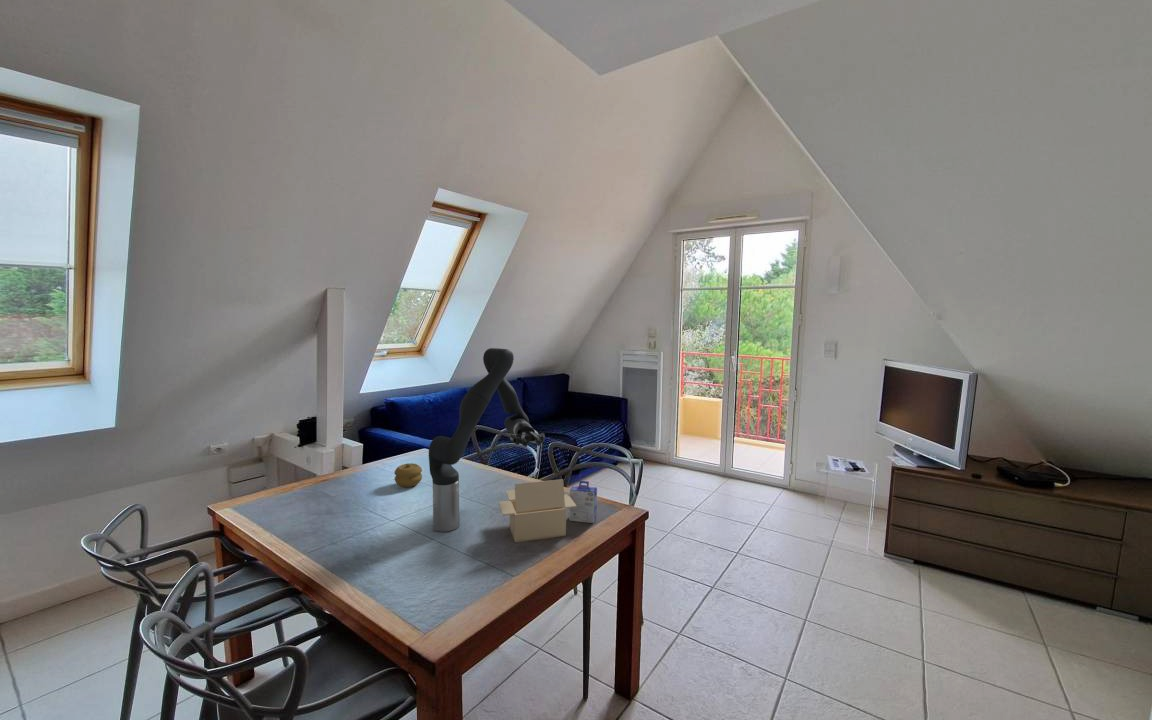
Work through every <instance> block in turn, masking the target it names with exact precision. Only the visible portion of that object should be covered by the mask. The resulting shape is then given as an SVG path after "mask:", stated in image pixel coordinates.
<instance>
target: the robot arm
mask: <svg viewBox="0 0 1152 720" xmlns="http://www.w3.org/2000/svg"><path fill="white" fill-rule="evenodd" d="M514 357H515V356H514V353H513V352H512V350H510V349H507V348H497V347H489V348H487V349H486V350H485V352H483V357H482V360H483V365H484V368H485V370H486V371H487V374H486V375H485V376H484V377H483V378H482V379H480V380H479V381H478V382H476V383H475V384H473V386H471V387H470V388H469V389H468V390H467V391H466V393H465V396H464V397H463V398H462V400H461V402H460V405H459V422H458V423H459V424H458V426H457V428H456V430H455V432H454V434H453V435H452V437H448V436H442V435H437V436H436V437H434V438H433V439H432V440H431V442H430V443H429V448H428V464H429V465H428V466H429V474H430V476H431V480H432V481H431V482H432V519H433V521H432V523H433V524H432V525H433V532H444V533H445V532H452V531H455V530H456V529H458V528H459V527H460V476H459V475H460V474H459V472H458V471H457V470H456V468H454V467H453V465H456V464H457V463H458V462H459V461H460V460H461V459H462V457H463V455H464V453H465V450H466V449H467V446H468V444H469V441H470V439H471V437H472V434H473V433H474V430H475V428H476V427H477V424H478V423H479V422H480V419H481V417H482V415H484V413H485V410H486V409H487V407H488V405H489V403H490V402H491V399H492V398H493V396H494V394H495V392H496V391H497V393H498V395H499V398H500V400H501V403H502V407H503V410H504V412H505V413H506V414H507V415H510V416H508V417H506V418H505V420H504V427H505V428H504V429H506V431H507V432H508V433H510V437H509V438H510V442H511V443H513V444H515V445H521V446H523V447H524V448H527V447H528V444H531V443H532V444H536V446H537V447H539V446H541V445H542V444H543V443H544V441H545V432H541V433H539V434H538V433H537V432H536V431H535V428H533V426H532V425H531V424H530V420H529V417H528V415H527V414H526V413H525V411H524V410H523V408H522V406H521V403H520V400H519V397H518V394H517V392H516V390H515V388H514V386H513V385H511V383H510V382H509V381H508V380H507V378H506V376H507V375H508V373H509V372H510V370H511V368H512V367H513V364H514V360H515V359H514Z"/></svg>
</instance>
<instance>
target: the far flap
mask: <svg viewBox="0 0 1152 720" xmlns="http://www.w3.org/2000/svg"><path fill="white" fill-rule="evenodd" d="M564 485H565V484H564V479H563V478H562V479H552V480H551V479H550V480H543V481H542V480H541V481H531V482H520V483H514V490H515V502H516V512H521V511H530V510H539V509H547V508H556V507H564V506H565V500H564V495H565V486H564Z"/></svg>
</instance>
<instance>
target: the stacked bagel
mask: <svg viewBox="0 0 1152 720" xmlns="http://www.w3.org/2000/svg"><path fill="white" fill-rule="evenodd" d="M422 471H423V469H422V467H421V466H420V465H419V464H418V463H417V464H416V463H413V462H412V463H408V462H407V463H404V464H400V465H399V466H398V467H396V469H395V470H394V481H395V483H396V484H397V485H398V486H399V487H402V488H412V487H414V486H417V485H418V484H419V483H420V482H422V481H421V480H422V479H423V474H422Z"/></svg>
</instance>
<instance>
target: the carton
mask: <svg viewBox="0 0 1152 720" xmlns="http://www.w3.org/2000/svg"><path fill="white" fill-rule="evenodd" d="M505 495H506V496H507V498H508V500H503V501H498V505H499V507H500V511H501V514H502V516H509V529H510V530H509V531H510V532H511V535H512V539H513V541H514V543H515V544H517V543H524V542H532V541H540V540H546V539H553V538H554V539H555V538H562V537H566V536H567V509H568V508H569V509H570V508H571V507H577V506H576V504H575V503H574V502H573V500H572V499H571V498H570V494H568V493H567V494H565V493H564V500H565V506H564V507H556V508H547V509H539V510H530V511H521V512H516V502H515V489H509V490H505Z"/></svg>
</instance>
